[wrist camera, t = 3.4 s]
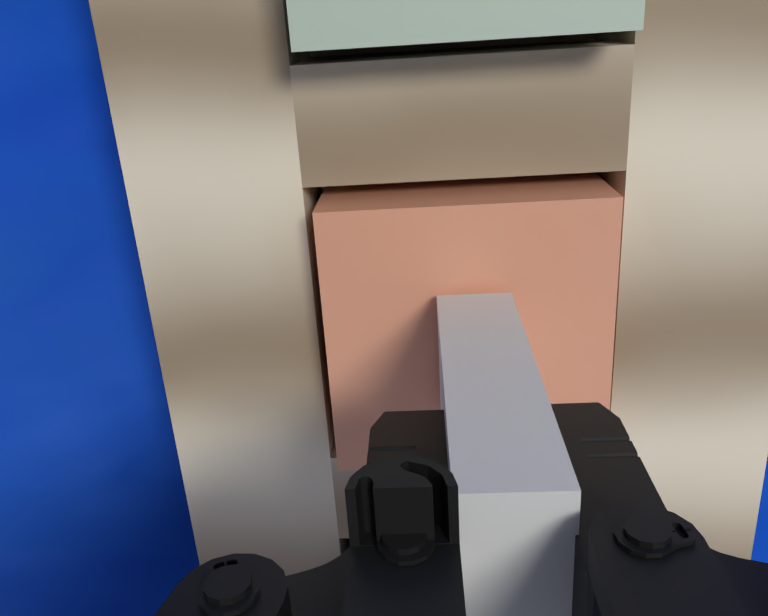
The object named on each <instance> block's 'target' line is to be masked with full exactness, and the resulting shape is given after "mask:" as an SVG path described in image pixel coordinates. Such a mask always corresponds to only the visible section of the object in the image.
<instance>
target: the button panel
mask: <svg viewBox="0 0 768 616" xmlns="http://www.w3.org/2000/svg"><path fill="white" fill-rule="evenodd" d="M89 5H90V10H91V15H92V20H93V25H94V30H95V35H96V40H97V45H98V51H99V56H100V61H101V66H102V71H103V76H104V81H105V86H106V91H107V96H108V101H109V106H110V112H111V117H112V122H113V127H114V132H115V137H116V142H117V147H118V152H119V157H120V162H121V167H122V172H123V178H124V183H125V188H126V193H127V198H128V203H129V208H130V213H131V218H132V223H133V228H134V233H135V239H136V244H137V249H138V254H139V259H140V264H141V269H142V274H143V279H144V284H145V289H146V294H147V299H148V305H149V310H150V315H151V320H152V325H153V330H154V335H155V340H156V345H157V350H158V355H159V360H160V366H161V371H162V376H163V381H164V386H165V391H166V396H167V401H168V406H169V411H170V416H171V421H172V426H173V432H174V437H175V442H176V447H177V452H178V457H179V462H180V467H181V472H182V477H183V482H184V487H185V493H186V498H187V503H188V508H189V513H190V518H191V523H192V528H193V533H194V538H195V543H196V548H197V553H198V559H199V564H200V565H202V564H204V563H206V562H208V561H209V560H211V559H214V558H218V557H222V556H226V555H230V554H234V553H239V554H257V555H260V556H263V557H266V558H269V559H272V560H273V561H274V562H275V563H276V564H277V565H279V566H280V567H281V568H282V569H283V570H284V573H285V576H288V575H292V574H295V573H299V572H303V571H306V570H310V569H313V568H316V567H318V566H321V565H324V564H326V563H328V562H330V561H332V560H333V559H335V558H337V557H339V556H340V555H341V554H342V553H343V552H344V551H345V550H347V549H348V548H349V547H350V542H349V531H348V521H347V511H346V500H345V490H344V489H345V487H346V485H347V483H348V481H349V478H350V476H352V475H353V474H354V473H355V472H356V471H358V470H343V471H338V465H337V455H336V445H335V435H334V425H333V415H332V405H331V395H330V385H329V375H328V365H327V355H326V346H325V336H324V326H323V316H322V306H321V296H320V286H319V276H318V266H317V256H316V246H315V236H314V226H313V216H312V212H313V210H314V208H315V206H316V204H317V202H318V200H319V198H320V196H321V194H322V192H323V190H324V188H325V186H344V185H363V184H382V183H401V182H420V181H439V180H458V179H477V178H496V177H515V176H534V175H553V174H572V173H591V172H595V173H596V174H597V175H598V176H599V177H601V178H602V179H603V180H604V181H605V182H606V183H608V184H609V185H610V186H611V187H612V188H613V189H614V190H616V191H617V192H618V193H619V194H620V195H621V196H623V211H622V226H621V242H620V257H619V273H618V288H617V304H616V319H615V335H614V350H613V366H612V382H611V397H610V411H611V412H612V413H614V414H615V415H616V416H618V417H619V418H620V419H621V421H622V423H623V425H624V427H625V429H626V431H627V433H628V435H629V437H630V441H632V443H633V445H634V447H635V449H636V451H637V453H638V457H640V458H641V460H642V462H643V464H644V466H645V468H646V470H647V472H648V474H649V476H650V478H651V480H652V482H653V484H654V486H655V488H656V490H657V492H658V494H659V495H660V497H661V499H662V501H663V503H664V505H665V507H666V509H667V511H670V512H673V513H675V514H677V515H679V516H680V517H682V518H684V519H685V520H687V521H688V522H690V523H692V524H693V525H694V526H695V528H696V529H697V530H698V531H699V532H700V533H701V535H702V536H703V537H704V538H705V540H706V542H707V544H708V546H709V547H710V548H711V549H713V550H716V551H718V552H720V553H723V554H727V555H731V556H735V557H738V558H743V559H748V560H751V554H752V548H753V541H754V535H755V529H756V523H757V517H758V511H759V505H760V498H761V492H762V486H763V480H764V474H765V468H766V461H767V455H768V0H645V13H644V28H643V30H636V31H620V32H604V33H588V34H572V35H557V36H541V37H525V38H509V39H493V40H477V41H462V42H446V43H430V44H414V45H398V46H382V47H367V48H351V49H335V50H319V51H303V52H291V44H290V34H289V24H288V15H287V5H286V0H89Z"/></svg>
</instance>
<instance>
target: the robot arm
mask: <svg viewBox="0 0 768 616" xmlns="http://www.w3.org/2000/svg"><path fill="white" fill-rule="evenodd" d="M437 320H438V348H439V376H440V403H441V410H416V411H386V412H384V413H383V414H382V415H381V416H380V417H379V419H378V420H377V421H376V422H375V423H374V424H373V426H372V427H371V428H370V435H369V445H368V454H367V465H364V466H363V467H361V468H360V469H359V470H358V471H356V472H355V473H354V474H353V475H352V476H350V478H349V481H348V483H347V485H346V487H345V489H344V490H345V500H346V511H347V521H348V531H349V542H350V547H349V548H348V549H347V550H345V551H344V552H343V553H342V554H341V555H340V556H339V557H337V558H335V559H333V560H332V561H330V562H328V563H326V564H324V565H321V566H318V567H316V568H313V569H310V570H306V571H303V572H299V573H295V574H292V575H288V576H285V573H284V570H283V569H282V568H281V567H280V566H279V565H277V564H276V563H275V562H274V561H273V560H272V559H269V558H266V557H263V556H260V555H257V554H239V553H234V554H230V555H226V556H222V557H218V558H214V559H211V560H209V561H208V562H206V563H204V564H202V565H200V566H198V567H196V568H195V569H193V570H192V571H191V572H190V573H189V574H188V575H187V576H185V577H184V578H183V579H182V580H181V581H180V582H179V583H178V584H177V586H176V587H175V588H174V590H173V591H172V592H171V594H170V595H169V596H168V598H167V599H166V601H165V602H164V603H163V605H162V606H161V607H160V609H159V610H158V611H157V613H156V614H155V615H154V616H768V563H763V562H758V561H753V560H748V559H743V558H738V557H735V556H731V555H727V554H723V553H720V552H718V551H716V550H713V549H711V548H710V547H709V546H708V544H707V542H706V540H705V538H704V537H703V536H702V535H701V533H700V532H699V531H698V530H697V529H696V528H695V526H694V525H693V524H692V523H690V522H688V521H687V520H685V519H684V518H682V517H680V516H679V515H677V514H675V513H673V512H670V511H667V509H666V507H665V505H664V503H663V501H662V499H661V497H660V495H659V494H658V492H657V490H656V488H655V486H654V484H653V482H652V480H651V478H650V476H649V474H648V472H647V470H646V468H645V466H644V464H643V462H642V460H641V458H640V457H638V453H637V451H636V449H635V447H634V445H633V443H632V441H630V437H629V435H628V433H627V431H626V429H625V427H624V425H623V423H622V421H621V419H620V418H619V417H618V416H616V415H615V414H614V413H612V412H611V411H610V410H608V409H607V408H606V407H604V406H603V405H602V404H600V403H599V402H591V403H561V404H550V401H549V398H548V395H547V392H546V389H545V387H544V384H543V381H542V378H541V375H540V372H539V370H538V367H537V364H536V361H535V358H534V355H533V353H532V350H531V347H530V344H529V341H528V338H527V335H526V333H525V330H524V327H523V324H522V321H521V318H520V316H519V313H518V310H517V307H516V304H515V301H514V299H513V296H512V293H511V292H506V293H483V294H459V295H437Z"/></svg>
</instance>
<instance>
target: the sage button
mask: <svg viewBox="0 0 768 616" xmlns="http://www.w3.org/2000/svg"><path fill="white" fill-rule="evenodd" d="M286 5H287V15H288V24H289V34H290V44H291V52H303V51H319V50H335V49H351V48H367V47H382V46H398V45H414V44H430V43H446V42H462V41H477V40H493V39H509V38H525V37H541V36H557V35H572V34H588V33H604V32H620V31H636V30H643V28H644V13H645V0H286Z"/></svg>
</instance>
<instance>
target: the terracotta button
mask: <svg viewBox="0 0 768 616" xmlns="http://www.w3.org/2000/svg"><path fill="white" fill-rule="evenodd" d="M622 211H623V196H621V195H620V194H619V193H618V192H617V191H616V190H614V189H613V188H612V187H611V186H610V185H609V184H608V183H606V182H605V181H604V180H603V179H602V178H601V177H599V176H598V175H597V174H596V173H595V172H591V173H572V174H553V175H534V176H515V177H496V178H477V179H458V180H439V181H420V182H401V183H382V184H363V185H344V186H325V188H324V190H323V192H322V194H321V196H320V198H319V200H318V202H317V204H316V206H315V208H314V210H313V212H312V216H313V226H314V236H315V246H316V256H317V266H318V276H319V286H320V296H321V306H322V316H323V326H324V336H325V346H326V355H327V365H328V375H329V385H330V395H331V405H332V415H333V425H334V435H335V445H336V455H337V465H338V471H343V470H359V469H360V468H361V467H363V466H364V465H367V454H368V445H369V435H370V428H371V427H372V426H373V424H374V423H375V422H376V421H377V420H378V419H379V417H380V416H381V415H382V414H383V413H384V412H386V411H416V410H441V403H440V376H439V348H438V320H437V295H459V294H483V293H506V292H511V293H512V296H513V299H514V301H515V304H516V307H517V310H518V313H519V316H520V318H521V321H522V324H523V327H524V330H525V333H526V335H527V338H528V341H529V344H530V347H531V350H532V353H533V355H534V358H535V361H536V364H537V367H538V370H539V372H540V375H541V378H542V381H543V384H544V387H545V389H546V392H547V395H548V398H549V401H550V404H561V403H591V402H599V403H600V404H602V405H603V406H604V407H606V408H607V409H608V410H610V397H611V382H612V366H613V350H614V335H615V319H616V304H617V288H618V273H619V257H620V242H621V226H622Z"/></svg>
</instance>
